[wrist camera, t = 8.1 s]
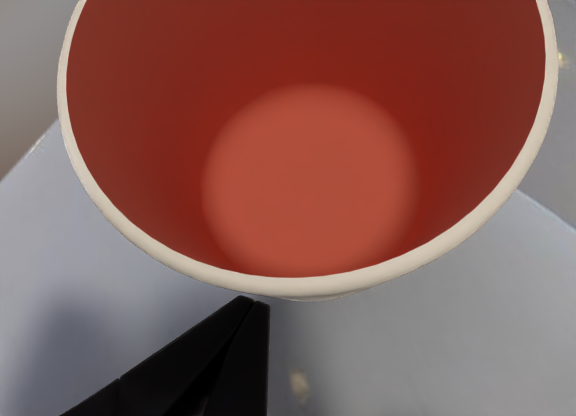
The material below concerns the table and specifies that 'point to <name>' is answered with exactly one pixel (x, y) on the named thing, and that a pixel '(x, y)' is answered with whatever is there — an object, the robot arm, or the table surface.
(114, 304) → the table surface
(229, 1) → the cup
